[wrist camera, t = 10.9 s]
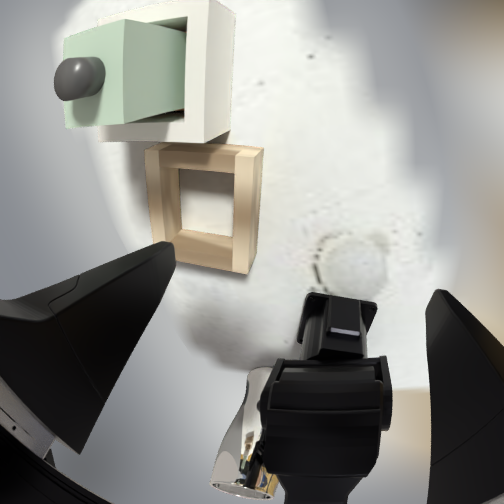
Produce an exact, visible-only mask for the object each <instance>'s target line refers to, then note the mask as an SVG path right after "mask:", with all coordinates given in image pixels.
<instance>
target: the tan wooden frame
mask: <svg viewBox="0 0 504 504" xmlns="http://www.w3.org/2000/svg"><path fill="white" fill-rule="evenodd" d="M263 151H264V148H262V147H252V146H241V145H230V144H216V143H187V142H161V143H159V144H157V145H154V146H152V147H150V148H148V149H145V150H144V157H145V171H146V183H147V194H148V204H149V213H150V222H151V230H152V238H153V244H155V243H158V242H160V241H166V242H171V243H173V244H174V248H175V258H176V261H181V262H186V263H191V264H196V265H201V266H206V267H211V268H216V269H221V270H227V271H232V272H237V273H242V274H248V272H249V270H250V268H251V265H252V263H253V261H254V258H255V256H256V253H257V239H258V224H259V210H260V196H261V181H262V166H263ZM179 168H182V169H195V170H206V171H216V172H226V173H235V179H234V214H233V237H228V236H222V235H216V234H210V233H204V232H198V231H191V230H185V229H182V223H181V208H180V189H179Z"/></svg>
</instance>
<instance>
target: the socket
mask: <svg viewBox="0 0 504 504" xmlns="http://www.w3.org/2000/svg"><path fill="white" fill-rule="evenodd" d="M122 19H129V20H134V21H140V22H144V23H149V24H154V25H158V26H162V27H166V28H170V29H174V30H178V31H182V32H187V38H186V61H185V113H162V114H158V115H154V116H150V117H146V118H143V119H139V120H136V121H132V122H129V123H125V124H115V125H100V126H97V127H98V140H99V142H127V141H151V142H187V143H205V142H207V141H209V140H211V139H213V138H215V137H217V136H219V135H221V134H223V133H225V132H227V131H229V130H230V124H231V98H232V76H233V56H234V37H235V21H236V13H234V12H233V11H231V10H230V9H229V8H227V7H226V6H224V5H223V4H221V3H220V2H218V1H217V0H175V1H169V2H164V3H159V4H154V5H149V6H145V7H141V8H137V9H133V10H129V11H125V12H121V13H118V14H114V15H111V16H108V17H104V18H101V19H98V20H97V27H98V26H101V25H104V24H108V23H111V22H115V21H118V20H122Z"/></svg>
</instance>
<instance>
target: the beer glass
mask: <svg viewBox="0 0 504 504" xmlns="http://www.w3.org/2000/svg"><path fill="white" fill-rule="evenodd" d="M272 369H273V368H271V367H261V368H256V369H254V370H252V371H250V372H249V374H248V376H247V386H246V394H245V397H244V401H243V403H242V405H241V407H240V409H239V411H238V413H237V415H236V416H235V418H234V420H233V421H232V423H231V425H230V427H229V429H228V430H227V432H226V434H225V436H224V438H223V441H222V443H221V446H220V448H219V451H218V454H217V457H216V461H215V465H214V469H213V473H212V477H211V481H210V485H211V486H212V487H213V488H215V489H217V490H219V491H222V492H225V493H228V494H231V495H234V496H238V497H243V498H249V499H255V500H272V499H274V495H275V492H276V489H277V487H278V484H279V480H278V479H277V477H276V475H274V474H268V473H267V471H266V468H265V466H264V463H263V460H262V458H263V452H264V446H265V437H266V430H264V429H263V428H262V426H261V421H260V412H259V411H258V410H257V402H258V401H259V400H260V395H261V393H262V390H263V388H264V386H265V384H266V382H267V380H268V378H269V375H270V373H271V371H272Z"/></svg>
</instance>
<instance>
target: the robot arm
mask: <svg viewBox="0 0 504 504" xmlns="http://www.w3.org/2000/svg"><path fill="white" fill-rule="evenodd" d="M175 267H176V258H175V248H174V244H173V243H171V242H166V241H160V242H158V243H155V244H153V245H150V246H148V247H145V248H142V249H140V250H137V251H135V252H132V253H130V254H127V255H125V256H123V257H120V258H117V259H115V260H113V261H110V262H108V263H105V264H103V265H100V266H98V267H96V268H93V269H91V270H89V271H86V272H84V273H82V274H80V275H77V276H74V277H72V278H70V279H67V280H65V281H62V282H60V283H58V284H55V285H52V286H50V287H47V288H44V289H41V290H38V291H36V292H33V293H31V294H28V295H25V296H22V297H20V298H17V299H12V300H1V299H0V504H114V503H112V502H110V501H108V500H106V499H104V498H103V497H101V496H99V495H97V494H95V493H94V492H92V491H90V490H88V489H87V488H85V487H83V486H82V485H80V484H78V483H77V482H75V481H74V480H72V479H71V478H69V477H67V476H66V475H65V474H63V473H62V472H60V471H59V470H57V469H56V467H55V463H54V459H53V455H52V451H51V449H50V447H51V446H52V444H53V442H54V441H55V440H57V441H58V442H60V443H61V444H63V445H64V446H66V447H67V448H69V449H71V450H72V451H74V452H75V453H77V454H79V455H80V453H81V452H82V450H83V448H84V446H85V443H86V442H87V439H88V437H89V435H90V433H91V431H92V429H93V427H94V425H95V423H96V421H97V419H98V417H99V415H100V413H101V411H102V409H103V407H104V405H105V402H106V401H107V399H108V397H109V395H110V393H111V391H112V389H113V387H114V385H115V383H116V381H117V380H118V378H119V376H120V374H121V372H122V370H123V368H124V366H125V365H126V363H127V361H128V359H129V357H130V355H131V353H132V352H133V350H134V348H135V346H136V344H137V343H138V341H139V339H140V337H141V336H142V334H143V332H144V330H145V328H146V326H147V325H148V323H149V321H150V320H151V318H152V316H153V314H154V313H155V311H156V309H157V307H158V305H159V304H160V302H161V300H162V297H163V295H164V293H165V291H166V288H167V286H168V284H169V282H170V279H171V277H172V275H173V273H174V270H175ZM311 297H313V298H314V299H311ZM371 307H374V308H371ZM377 309H378V308H377V304H376V303H374V302H369V301H363V300H357V299H350V298H344V297H338V296H332V295H326V294H321V293H315V292H311V293H309V294H308V295H307V298H306V303H305V307H304V312H303V316H302V320H301V325H300V329H299V333H298V337H297V342H298V343H300V344H302V350H301V356H300V360H285V359H277V362H276V364H275V366H274V367H273V369H272V371H271V373H270V375H269V378H268V380H267V382H266V384H265V386H264V388H263V390H262V393H261V395H260V400H259V401H258V402H257V410H258V411H259V412H260V421H261V426H262V428H263V429H264V430H266V437H265V446H264V452H263V458H262V460H263V463H264V466H265V468H266V471H267V473H268V474H274V475H276V477H277V479H278V480H279V482H280V484H281V486H282V487H283V489H284V490H285V502H284V504H347V500H348V495H349V494H350V492H351V491H352V490H353V489H354V488H355V486H356V485H357V484H358V483H359V482H360V480H361V479H362V478H363V477H367V476H368V474H369V473H370V471H371V470H372V468H373V467H374V465H375V463H376V460H377V458H378V455H379V447H380V437H381V431H388V430H389V427H390V423H391V417H392V401H393V400H392V385H391V379H390V373H389V368H388V362H387V357H386V356H379V357H377V358H367V338H366V335H367V333H368V331H369V328H370V326H371V324H372V321H373V319H374V317H375V314H376V312H377ZM425 317H426V348H427V361H428V371H429V383H430V400H431V464H430V465H431V466H430V478H429V489H428V498H427V504H504V346H503V345H502V344H501V343H500V342H499V341H498V340H497V339H496V338H495V337H494V336H493V335H492V334H491V333H490V332H489V331H488V330H487V329H486V327H484V326H483V325H482V324H481V323H480V321H479V320H478V319H477V318H475V316H474V315H472V314H471V313H470V312H469V311H468V310H467V309H466V308H465V307H464V306H463V305H462V304H461V303H460V302H459V301H458V300H457V299H456V298H455V297H454V296H453V295H451V294H450V293H449V292H448V291H447V290H442V289H436V290H435V291H434V293H433V295H432V297H431V299H430V301H429V303H428V305H427V308H426V312H425Z"/></svg>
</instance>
